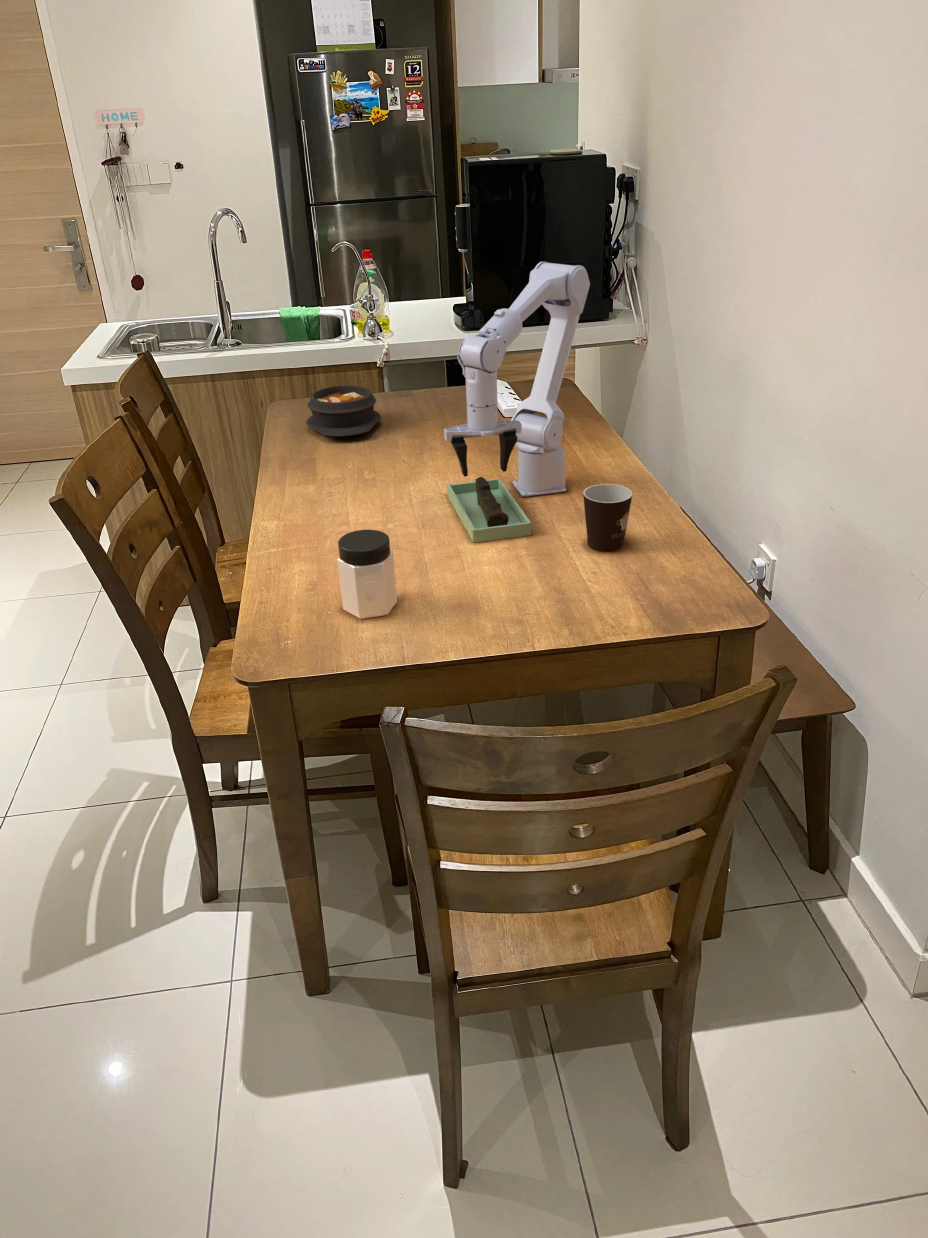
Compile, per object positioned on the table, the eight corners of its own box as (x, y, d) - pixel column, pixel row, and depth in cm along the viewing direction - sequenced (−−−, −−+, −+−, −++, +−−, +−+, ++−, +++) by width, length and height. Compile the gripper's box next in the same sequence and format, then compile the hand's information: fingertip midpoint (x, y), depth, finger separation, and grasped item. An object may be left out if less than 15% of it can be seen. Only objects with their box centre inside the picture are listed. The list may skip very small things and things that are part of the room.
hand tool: (509, 532, 174) (508, 509, 172) (487, 534, 174) (487, 511, 172) (492, 494, 191) (492, 472, 188) (473, 495, 190) (472, 474, 188)
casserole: (386, 439, 223) (384, 405, 219) (308, 447, 221) (304, 412, 217) (376, 408, 245) (374, 376, 240) (305, 415, 242) (301, 383, 238)
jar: (346, 622, 149) (338, 554, 143) (340, 598, 156) (332, 533, 150) (401, 614, 150) (395, 547, 144) (393, 590, 157) (387, 525, 151)
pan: (500, 489, 194) (500, 478, 193) (531, 535, 174) (531, 522, 173) (447, 495, 192) (447, 484, 191) (473, 542, 172) (472, 530, 171)
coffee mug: (599, 558, 165) (601, 506, 160) (572, 541, 171) (573, 490, 166) (652, 543, 169) (656, 492, 164) (624, 526, 176) (627, 477, 171)
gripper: (448, 413, 168) (451, 484, 174) (525, 404, 170) (526, 474, 177) (440, 402, 174) (444, 470, 180) (515, 393, 176) (516, 462, 183)
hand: (484, 472), depth 179 cm, fingers open, 7 cm apart
